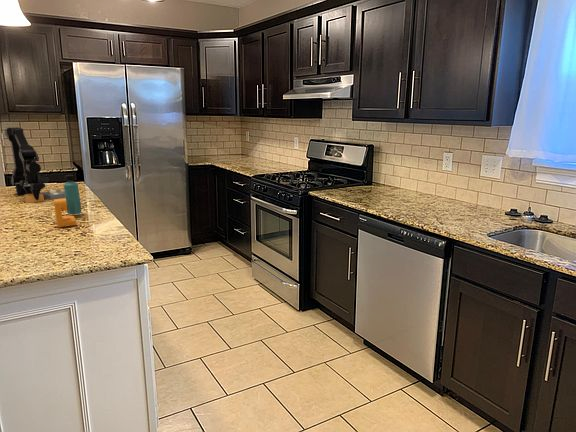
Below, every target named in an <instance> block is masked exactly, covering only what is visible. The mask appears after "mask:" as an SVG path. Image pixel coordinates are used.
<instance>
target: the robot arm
mask: <svg viewBox="0 0 576 432" xmlns="http://www.w3.org/2000/svg"><path fill="white" fill-rule="evenodd" d="M4 135H5V137H6V139H7V140H8V141H9V143H10V145H11V146H10V147H11V152H12V153H11V154H12V159H13V165H14V168H13V170H12V173H11V174H12V175H11V181H10V183H11V185H12V186H14V187H15V190H16V193H14V195H16V196H18V197H20V196H25V195H26V194H33V195H34V197H35V199H36V200H38V199H39V194H40V192H41V191H42V190H43V189H44V188H46V184H48V183H49V179H50V178H49V177H46V176H44V175H43V174H41V173H40V172H41V170H42V166H41V165H40V164H39V163H37V162H39V161H40V160H39V159H40V157H39V154H38V153H37V151H36V149H34V147H33V146H32V145H30V144H29V142H28V140H27V138H26V136H25V132H24V128H22V127H19V126H18V127H17V126H15V127H6V129H4Z"/></svg>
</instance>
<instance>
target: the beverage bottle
mask: <svg viewBox="0 0 576 432" xmlns="http://www.w3.org/2000/svg"><path fill="white" fill-rule="evenodd" d="M64 180H65V181H66V182H65V183H64V184H63V190H64V191H65V194H64V195H65V198H66V203H67V211H66V212H67V214H68V215H78V214H81V213H82V204H81V198H80V197H81V196H80V190H79V183H78V182H76V181H75V180H76V177H75V175H73V174H66V175H65V176H64ZM65 198H64V199H65Z"/></svg>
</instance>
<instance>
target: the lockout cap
mask: <svg viewBox="0 0 576 432" xmlns="http://www.w3.org/2000/svg"><path fill="white" fill-rule="evenodd" d="M24 201H25V202H27V203H29V204H31V203H39V202H44V201H45V198H44V197H43V194H39V199H38V200H36V199H35V197H34V195H33V194H26V195H24Z"/></svg>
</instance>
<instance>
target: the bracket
mask: <svg viewBox="0 0 576 432" xmlns="http://www.w3.org/2000/svg"><path fill="white" fill-rule="evenodd" d="M53 206H54V214H55V220H56V221H55V222H56V226H57V228H63V227H71V226H77V220H76V218H75V216H74V215H66V216H63V213H62V212H65V211H66V212H67V203H66V198H60V199H53Z"/></svg>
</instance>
